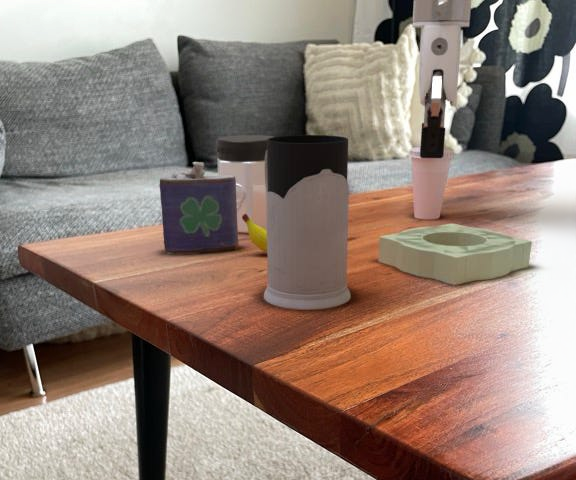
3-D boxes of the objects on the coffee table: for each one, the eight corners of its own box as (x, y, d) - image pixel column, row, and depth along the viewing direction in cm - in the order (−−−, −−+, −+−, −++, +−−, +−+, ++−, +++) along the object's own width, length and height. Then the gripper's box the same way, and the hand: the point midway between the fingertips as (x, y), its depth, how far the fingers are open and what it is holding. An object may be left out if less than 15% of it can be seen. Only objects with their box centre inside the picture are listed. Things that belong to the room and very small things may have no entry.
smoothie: (454, 220, 105) (463, 118, 99) (410, 221, 104) (417, 119, 98) (441, 212, 110) (449, 115, 105) (400, 213, 110) (406, 115, 104)
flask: (236, 245, 92) (233, 158, 87) (240, 251, 89) (237, 161, 85) (163, 250, 90) (156, 161, 85) (165, 256, 87) (158, 164, 83)
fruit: (242, 257, 86) (240, 215, 84) (243, 252, 88) (242, 211, 86) (327, 257, 86) (327, 215, 84) (326, 253, 88) (327, 211, 86)
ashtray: (449, 245, 91) (451, 221, 90) (537, 267, 81) (540, 241, 80) (370, 261, 84) (371, 236, 83) (455, 288, 74) (457, 259, 73)
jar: (207, 231, 100) (202, 140, 95) (232, 219, 107) (229, 134, 102) (267, 235, 97) (265, 142, 92) (289, 223, 104) (288, 135, 99)
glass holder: (285, 314, 67) (283, 146, 61) (232, 276, 79) (226, 132, 73) (366, 302, 70) (373, 140, 64) (304, 267, 82) (304, 128, 76)
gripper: (474, 10, 88) (460, 163, 95) (466, 17, 103) (455, 148, 111) (411, 12, 89) (403, 162, 96) (413, 18, 104) (406, 147, 112)
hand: (431, 153), depth 103 cm, fingers closed on smoothie, 6 cm apart
